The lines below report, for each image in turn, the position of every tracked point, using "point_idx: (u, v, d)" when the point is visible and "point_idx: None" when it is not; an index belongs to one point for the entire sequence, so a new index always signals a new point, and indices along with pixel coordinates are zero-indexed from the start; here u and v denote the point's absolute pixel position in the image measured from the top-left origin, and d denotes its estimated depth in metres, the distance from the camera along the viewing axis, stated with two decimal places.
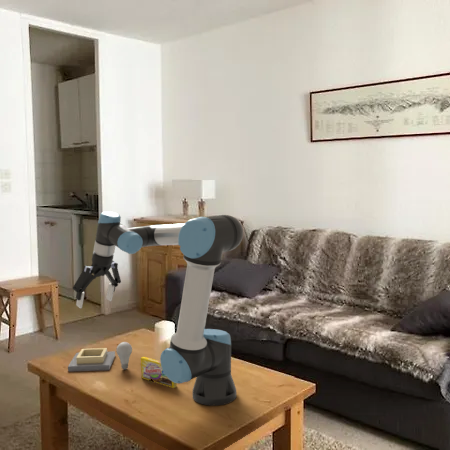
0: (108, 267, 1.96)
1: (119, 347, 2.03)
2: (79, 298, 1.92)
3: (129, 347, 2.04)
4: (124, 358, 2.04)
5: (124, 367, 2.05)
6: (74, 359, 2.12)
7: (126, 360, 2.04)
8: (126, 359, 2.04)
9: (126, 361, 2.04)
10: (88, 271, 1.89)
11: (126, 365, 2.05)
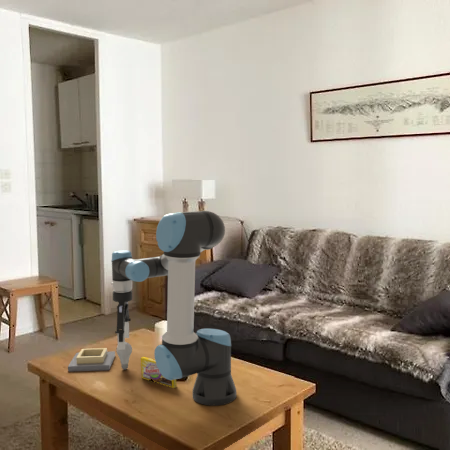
0: (126, 303, 2.06)
1: None
2: (122, 339, 1.97)
3: (129, 347, 2.04)
4: (124, 358, 2.04)
5: (124, 367, 2.05)
6: (74, 359, 2.12)
7: (126, 360, 2.04)
8: (126, 359, 2.04)
9: (126, 361, 2.04)
10: (124, 310, 1.98)
11: (126, 365, 2.05)
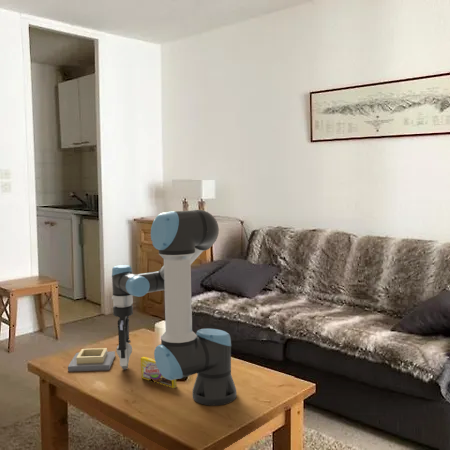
0: None
1: None
2: (124, 356, 2.01)
3: (129, 347, 2.04)
4: None
5: (124, 367, 2.05)
6: (74, 359, 2.12)
7: None
8: None
9: None
10: (124, 327, 1.99)
11: None
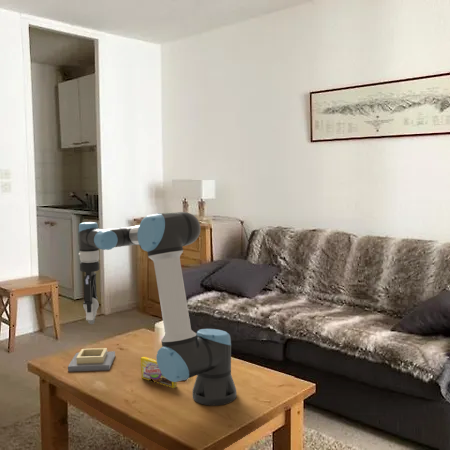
0: (93, 274, 2.12)
1: None
2: (90, 310, 2.07)
3: (95, 302, 2.09)
4: None
5: (90, 322, 2.10)
6: (74, 359, 2.12)
7: None
8: None
9: None
10: (90, 282, 2.04)
11: (93, 320, 2.10)
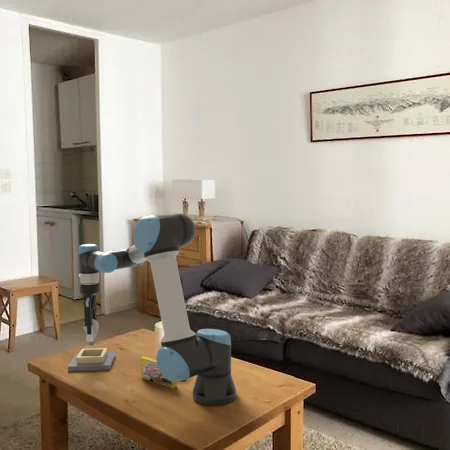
0: (94, 295, 2.13)
1: None
2: (91, 332, 2.08)
3: (95, 323, 2.10)
4: None
5: (91, 343, 2.11)
6: (74, 359, 2.12)
7: (93, 336, 2.11)
8: (93, 335, 2.11)
9: (93, 337, 2.11)
10: (90, 304, 2.05)
11: (93, 341, 2.11)
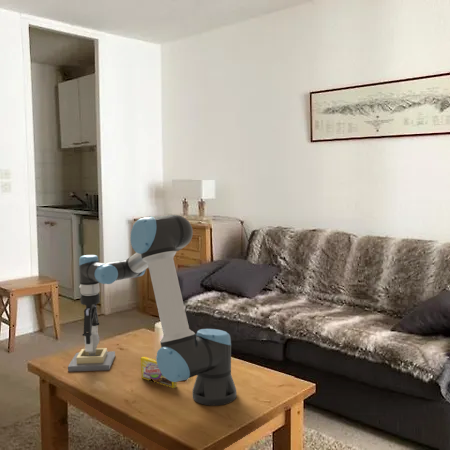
0: (94, 306, 2.14)
1: None
2: (90, 342, 2.05)
3: (96, 336, 2.11)
4: None
5: None
6: (74, 359, 2.12)
7: (93, 349, 2.11)
8: (93, 348, 2.11)
9: (93, 350, 2.11)
10: (90, 313, 2.05)
11: (93, 354, 2.12)
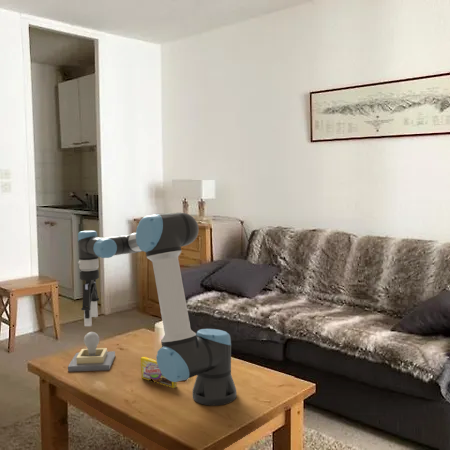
0: (93, 282, 2.12)
1: (86, 337, 2.10)
2: (89, 316, 2.03)
3: (96, 337, 2.11)
4: (91, 347, 2.10)
5: None
6: (74, 359, 2.12)
7: (93, 349, 2.11)
8: (93, 348, 2.11)
9: (93, 350, 2.11)
10: (89, 287, 2.04)
11: (93, 354, 2.12)
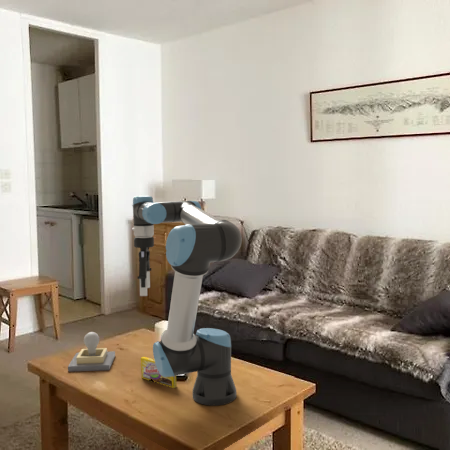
0: (147, 251, 2.02)
1: (86, 337, 2.10)
2: (145, 285, 1.93)
3: (96, 337, 2.11)
4: (91, 347, 2.10)
5: None
6: (74, 359, 2.12)
7: (93, 349, 2.11)
8: (93, 348, 2.11)
9: (93, 350, 2.11)
10: (146, 255, 1.93)
11: (93, 354, 2.12)
